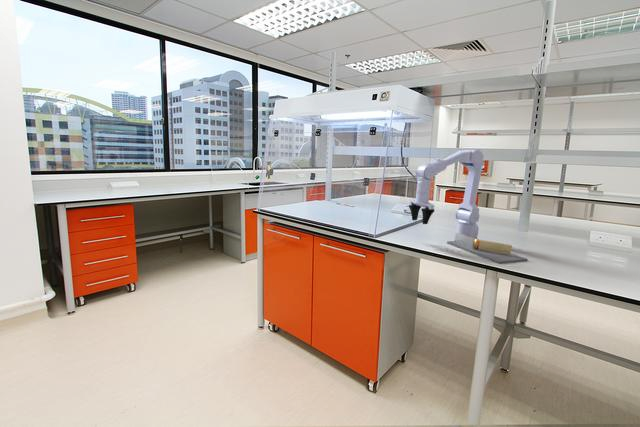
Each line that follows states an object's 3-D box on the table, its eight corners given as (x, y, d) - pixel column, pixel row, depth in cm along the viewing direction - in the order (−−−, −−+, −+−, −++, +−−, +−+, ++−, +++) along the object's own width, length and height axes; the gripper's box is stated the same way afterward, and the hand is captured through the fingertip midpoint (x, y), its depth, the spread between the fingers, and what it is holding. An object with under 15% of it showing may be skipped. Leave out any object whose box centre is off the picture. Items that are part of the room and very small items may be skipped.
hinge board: (473, 241, 154) (473, 239, 154) (527, 260, 129) (527, 258, 128) (446, 243, 149) (447, 241, 149) (498, 263, 123) (498, 261, 123)
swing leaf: (473, 247, 139) (475, 238, 138) (510, 254, 132) (511, 244, 132) (473, 248, 138) (474, 239, 137) (510, 255, 131) (511, 245, 130)
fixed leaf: (456, 241, 149) (457, 232, 148) (474, 248, 139) (475, 238, 139) (454, 241, 149) (455, 232, 148) (472, 248, 139) (474, 238, 138)
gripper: (405, 190, 147) (402, 218, 150) (426, 194, 134) (422, 226, 136) (418, 190, 149) (415, 218, 152) (439, 194, 136) (435, 225, 139)
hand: (419, 222), depth 144 cm, fingers open, 7 cm apart
